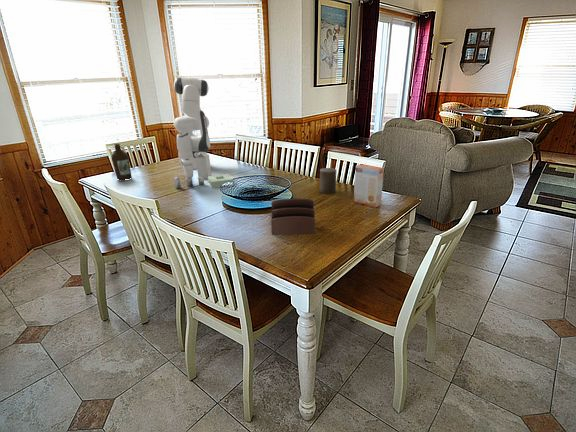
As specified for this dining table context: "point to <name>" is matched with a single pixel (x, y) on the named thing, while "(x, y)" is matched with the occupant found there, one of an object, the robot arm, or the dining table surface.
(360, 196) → the cracker box
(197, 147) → the robot arm
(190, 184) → the tall pin
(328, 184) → the pillar candle
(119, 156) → the olive oil
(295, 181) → the dining table surface
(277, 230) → the letter holder
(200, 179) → the short pin
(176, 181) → the medium pin
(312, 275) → the dining table surface
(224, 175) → the socket block
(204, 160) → the milk carton
